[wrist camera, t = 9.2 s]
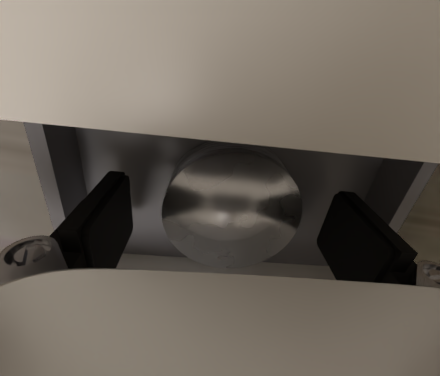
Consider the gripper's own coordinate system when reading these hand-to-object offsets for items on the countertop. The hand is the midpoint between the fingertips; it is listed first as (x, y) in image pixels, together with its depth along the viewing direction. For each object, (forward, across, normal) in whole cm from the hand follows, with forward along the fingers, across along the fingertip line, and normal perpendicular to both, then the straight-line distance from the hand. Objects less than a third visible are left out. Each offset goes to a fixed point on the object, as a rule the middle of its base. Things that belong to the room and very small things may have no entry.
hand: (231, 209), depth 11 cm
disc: (+1, 0, 0) cm, 1 cm away
